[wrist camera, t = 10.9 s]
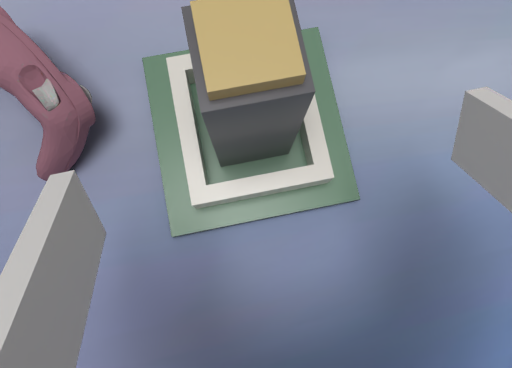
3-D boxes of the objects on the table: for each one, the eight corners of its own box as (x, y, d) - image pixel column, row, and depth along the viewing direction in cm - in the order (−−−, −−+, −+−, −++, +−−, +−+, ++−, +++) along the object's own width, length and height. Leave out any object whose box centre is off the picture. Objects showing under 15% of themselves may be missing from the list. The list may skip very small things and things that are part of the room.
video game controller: (109, 155, 26) (110, 87, 20) (49, 193, 24) (30, 127, 18) (16, 62, 27) (-9, -28, 21) (-52, 88, 25) (-101, -5, 19)
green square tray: (173, 237, 24) (164, 236, 21) (144, 62, 26) (132, 41, 23) (357, 200, 24) (370, 195, 22) (316, 31, 26) (323, 8, 24)
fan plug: (220, 167, 24) (198, 105, 13) (206, 91, 25) (174, -26, 14) (288, 154, 24) (319, 82, 13) (272, 79, 25) (288, -45, 14)
